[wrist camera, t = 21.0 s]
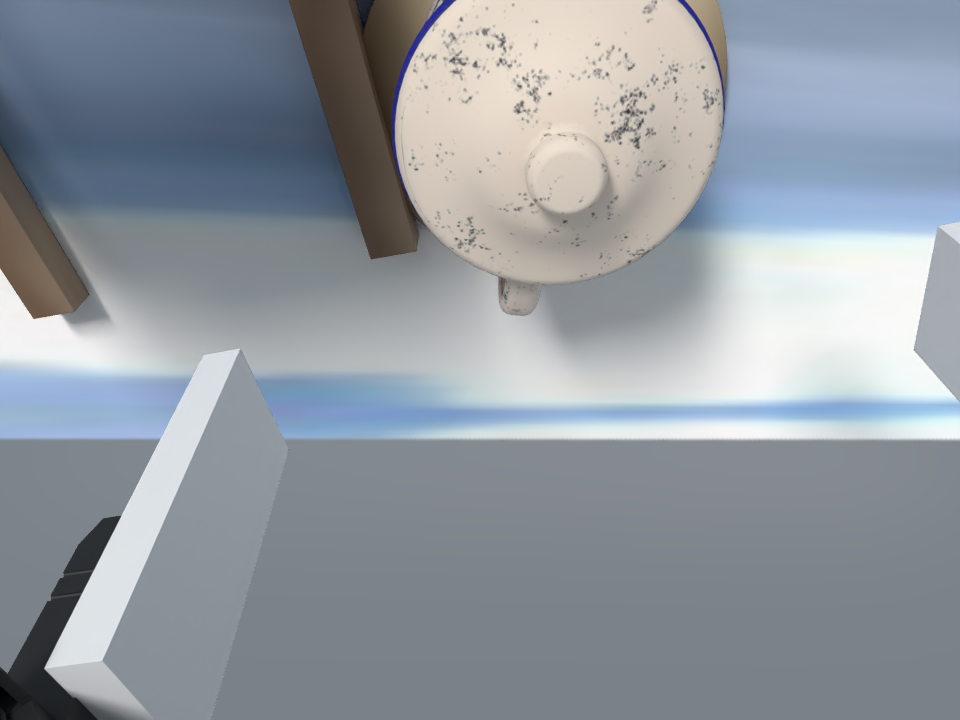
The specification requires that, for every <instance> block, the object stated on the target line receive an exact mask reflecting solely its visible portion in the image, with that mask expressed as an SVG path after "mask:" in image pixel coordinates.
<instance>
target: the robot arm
mask: <svg viewBox="0 0 960 720" xmlns="http://www.w3.org/2000/svg"><path fill="white" fill-rule="evenodd" d="M914 351H915V352H916V353H917V354H918V355H919V357H920V358H921V359H922V360H923V361H924V362H925V363H926V364H927V366H928V367H929V368H930V369H931V370H932V371H933V372H934V374H935V375H936V376H937V377H938V378H939V379H940V380H941V381H942V383H943V384H944V385H945V386H946V387H947V388H948V389H949V390H950V392H951V393H952V394H953V395H954V396H955V397H956V398H957V400H958V401H959V402H960V222H958V223H953V224H947V225H941V226H938V228H937V234H936V239H935V244H934V249H933V254H932V259H931V264H930V269H929V274H928V280H927V285H926V290H925V295H924V300H923V305H922V310H921V315H920V320H919V326H918V331H917V336H916V341H915V346H914ZM287 454H288V447H287V445H286V443H285V441H284V439H283V437H282V435H281V433H280V431H279V429H278V426H277V424H276V422H275V420H274V418H273V416H272V414H271V412H270V410H269V408H268V405H267V403H266V401H265V399H264V397H263V395H262V393H261V391H260V389H259V387H258V385H257V382H256V380H255V378H254V376H253V374H252V372H251V370H250V368H249V366H248V364H247V361H246V359H245V357H244V355H243V353H242V351H241V349H234V350H229V351H223V352H217V353H212V354H206V355H203V357H202V359H201V361H200V363H199V365H198V367H197V369H196V371H195V373H194V375H193V377H192V379H191V381H190V382H189V384H188V386H187V388H186V390H185V392H184V394H183V396H182V398H181V400H180V402H179V404H178V406H177V408H176V410H175V412H174V414H173V416H172V418H171V420H170V422H169V424H168V426H167V428H166V430H165V432H164V434H163V436H162V438H161V440H160V442H159V443H158V445H157V447H156V449H155V452H154V453H153V455H152V457H151V459H150V461H149V463H148V465H147V467H146V469H145V471H144V473H143V475H142V477H141V479H140V481H139V483H138V485H137V487H136V489H135V491H134V493H133V495H132V497H131V499H130V501H129V503H128V505H127V506H126V509H125V511H124V512H123V514H122V516H116V517H109V518H104V519H102V520H101V522H100V523H99V524H98V525H97V526H96V527H95V528H94V529H93V530H92V531H91V532H90V533H89V534H88V535H87V536H86V537H85V539H83V541H82V542H81V543H80V544H79V545H78V547H77V548H76V550H75V552H74V554H73V556H72V558H71V559H70V561H69V563H68V565H67V567H66V569H65V570H64V572H63V573H64V577H63V578H60V580H59V581H58V583H57V585H56V587H55V589H54V591H53V592H52V594H51V601H47V603H46V605H45V607H44V609H43V610H42V612H41V614H40V616H39V618H38V620H37V621H36V623H35V625H34V627H33V629H32V630H31V632H30V634H29V636H28V638H27V640H26V642H25V643H24V645H23V647H22V649H21V650H20V652H19V654H18V656H17V658H16V660H15V661H14V663H13V665H12V667H11V669H10V671H9V672H8V674H7V673H6V672H5V671H4V670H3V669H2V668H1V667H0V720H211V717H212V714H213V710H214V706H215V703H216V700H217V696H218V693H219V689H220V686H221V682H222V679H223V675H224V672H225V669H226V665H227V662H228V658H229V655H230V651H231V648H232V644H233V641H234V637H235V634H236V630H237V627H238V624H239V620H240V616H241V613H242V610H243V606H244V603H245V599H246V596H247V592H248V589H249V585H250V582H251V578H252V575H253V572H254V568H255V564H256V561H257V558H258V554H259V551H260V547H261V544H262V540H263V537H264V533H265V530H266V527H267V523H268V519H269V516H270V513H271V509H272V506H273V502H274V499H275V495H276V492H277V489H278V485H279V482H280V478H281V475H282V471H283V468H284V464H285V461H286V457H287Z"/></svg>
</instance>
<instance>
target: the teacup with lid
mask: <svg viewBox="0 0 960 720" xmlns="http://www.w3.org/2000/svg"><path fill="white" fill-rule="evenodd" d="M724 110H725V105H724V87H723V80H722V74H721V70H720V65H719V61H718V58H717V55H716V52H715V49H714V47H713V44H712V41H711V39H710V37H709V35H708V33H707V31H706V29H705V27H704V26H703V24H702V22H701V21H700V19H699V18H698V16H697V15H696V13H695V12H694V10H693V9H692V8H691V7H690V6H689V4H688V3H687V2H686V1H685V0H432V2H431V5H430V7H429V10H428V12H427V15H426V18H425V22H424V25H423V27H422V29H421V30H420V32H419V33H418V35H417V36H416V38H415V40H414V42H413V44H412V46H411V48H410V49H409V51H408V53H407V56H406V58H405V61H404V63H403V66H402V68H401V71H400V75H399V78H398V81H397V85H396V89H395V95H394V100H393V108H392V119H391V120H392V143H393V152H394V157H395V162H396V167H397V170H398V173H399V176H400V180H401V182H402V185H403V187H404V190H405V192H406V194H407V196H408V198H409V200H410V202H411V204H412V206H413V207H414V209H415V211H416V212H417V214H418V215H419V216H420V218H421V219H422V221H423V222H424V223H425V224H426V226H427V227H428V228H429V229H430V231H431V232H432V233H433V234H434V235H435V236H436V237H437V238H438V239H439V240H440V241H441V242H442V243H443V244H444V245H445V246H446V247H447V248H448V249H450V250H451V251H452V252H453V253H455V254H456V255H457V256H459V257H460V258H462V259H463V260H465V261H466V262H468V263H470V264H471V265H473V266H475V267H477V268H479V269H481V270H483V271H486V272H488V273H490V274H493V275H496V276H499V287H498V290H499V303H500V307H501V309H502V310H503V311H504V312H505V313H507V314H510V315H520V316H524V315H528V314H530V313H531V312H532V311H533V310H534V308H535V307H536V304H537V302H538V299H539V296H540V292H541V288H542V284H543V285H554V284H568V283H576V282H581V281H586V280H590V279H594V278H597V277H600V276H604V275H606V274H609V273H611V272H614V271H617V270H619V269H621V268H623V267H625V266H627V265H629V264H631V263H632V262H634V261H636V260H638V259H639V258H641V257H643V256H644V255H645V254H647V253H648V252H650V251H651V250H653V249H654V248H655V247H656V246H658V245H659V244H660V243H661V242H662V241H663V240H665V239H666V238H667V237H668V236H669V235H670V234H671V233H672V232H673V231H674V230H675V229H676V228H677V227H678V226H679V224H680V223H681V222H682V221H683V220H684V219H685V217H686V216H687V215H688V213H689V212H690V211H691V209H692V208H693V206H694V205H695V204H696V202H697V200H698V199H699V197H700V195H701V194H702V192H703V190H704V188H705V186H706V184H707V182H708V180H709V177H710V175H711V173H712V170H713V167H714V164H715V162H716V158H717V154H718V151H719V147H720V142H721V137H722V130H723V124H724Z"/></svg>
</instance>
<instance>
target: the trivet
mask: <svg viewBox="0 0 960 720" xmlns="http://www.w3.org/2000/svg"><path fill="white" fill-rule="evenodd" d="M685 1H686V2H687V3H688V4H689V6H690V7H691V8H692V9H693V10H694V12H695V13H696V15H697V16H698V18H699V19H700V21H701V22H702V24H703V26H704V27H705V29H706V31H707V33H708V35H709V37H710V39H711V41H712V44H713V47H714V49H715V52H716V55H717V58H718V61H719V65H720V70H721V74H722V80H723V87H724V94H725V89H726V75H727V50H726V36H725V31H724V26H723V21H722V16H721V12H720V9H719V6H718V3H717V0H685ZM431 2H432V0H375V1H374V3H373V5H372V8H371V10H370V13H369V16H368V19H367V22H366V26H365V29H364V32H363V36H362V41H363V44H364V48H365V52H366V55H367V59H368V63H369V66H370V70H371V74H372V78H373V81H374V85H375V89H376V92H377V96H378V100H379V103H380V107H381V111H382V115H383V118H384V122H385V126H386V129H387V133H388V137H389V140H390V144H391V148H392V151H393V143H392V120H391V119H392V108H393V100H394V95H395V89H396V85H397V81H398V78H399V75H400V71H401V68H402V66H403V63H404V61H405V58H406V56H407V53H408V51H409V49H410V48H411V46H412V44H413V42H414V40H415V38H416V36H417V35H418V33H419V32H420V30H421V29H422V27H423V25H424V22H425V18H426V15H427V12H428V10H429V7H430V5H431ZM393 155H394V152H393ZM394 159H395V157H394ZM395 163H396V162H395ZM398 174H399V173H398ZM399 177H400V176H399ZM400 181H401V180H400ZM401 185H402V182H401ZM402 188H403V192H404V196H405V199H406V203H407V207H408V210H409V212H410V213H412V214H413V215H414V216H415V217H416V218H417V219H418V220H419V221H421V222H422V223H423V224H424V225H425V226H426V224H425V223H424V222H423V221H422V219H421V218H420V216H419V215H418V214H417V212H416V211H415V209H414V207H413V206H412V204H411V202H410V200H409V198H408V196H407V194H406V192H405V190H404V187H403V185H402ZM426 227H427V226H426Z"/></svg>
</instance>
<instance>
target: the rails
mask: <svg viewBox="0 0 960 720" xmlns="http://www.w3.org/2000/svg"><path fill="white" fill-rule="evenodd" d="M289 3H290V6H291V9H292V12H293V15H294V18H295V21H296V25H297V28H298V31H299V34H300V37H301V40H302V44H303V47H304V50H305V53H306V56H307V59H308V62H309V66H310V69H311V72H312V75H313V78H314V81H315V85H316V88H317V91H318V94H319V97H320V100H321V104H322V107H323V110H324V113H325V116H326V119H327V122H328V126H329V129H330V132H331V135H332V138H333V141H334V145H335V148H336V151H337V154H338V157H339V160H340V163H341V167H342V170H343V173H344V176H345V179H346V182H347V186H348V189H349V192H350V195H351V198H352V201H353V204H354V208H355V211H356V214H357V217H358V220H359V223H360V227H361V230H362V233H363V236H364V239H365V242H366V246H367V249H368V252H369V255H370V258H371V259H375V258H381V257H387V256H392V255H398V254H404V253H409V252H415V251H416V250H417V244H418V237H419V235H418V231H417V227H416V223H415V220H414V216H413V214H412V213H410V212H409V210H408V207H407V203H406V199H405V196H404V192H403V188H402V185H401V181H400V177H399V174H398V170H397V167H396V163H395V159H394V155H393V151H392V148H391V144H390V140H389V137H388V133H387V129H386V126H385V122H384V118H383V115H382V111H381V107H380V103H379V100H378V96H377V92H376V89H375V85H374V81H373V78H372V74H371V70H370V66H369V63H368V59H367V55H366V52H365V48H364V44H363V41H362V36H363V32H364V29H363V25H362V22H361V18H360V14H359V10H358V7H357V3H356V0H289ZM0 269H1V270H2V272H3V273H4V275H5V276H6V278H7V279H8V281H9V282H10V284H11V285H12V287H13V288H14V290H15V291H16V293H17V294H18V296H19V297H20V299H21V300H22V302H23V303H24V305H25V307H26V308H27V310H28V311H29V313H30V314H31V316H32V317H33V319H36V318H42V317H47V316H53V315H59V314H64V313H70V312H74V311H75V310H76V309H77V308H78V307H79V306H80V305H81V303H82V302H83V301H84V300H85V299H86V298H87V296H88V295H89V294H88V292H87V290H86V289H85V287H84V285H83V284H82V282H81V280H80V279H79V277H78V275H77V273H76V272H75V270H74V268H73V267H72V265H71V263H70V262H69V260H68V258H67V257H66V255H65V253H64V252H63V250H62V248H61V246H60V245H59V243H58V241H57V240H56V238H55V236H54V235H53V233H52V231H51V230H50V228H49V226H48V224H47V223H46V221H45V219H44V218H43V216H42V214H41V213H40V211H39V209H38V208H37V206H36V204H35V203H34V201H33V199H32V197H31V196H30V194H29V192H28V191H27V189H26V187H25V186H24V184H23V182H22V181H21V179H20V177H19V176H18V174H17V172H16V170H15V169H14V167H13V165H12V164H11V162H10V160H9V159H8V157H7V155H6V154H5V152H4V150H3V148H2V147H1V145H0Z"/></svg>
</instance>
